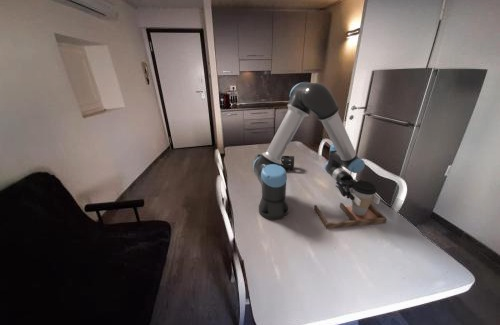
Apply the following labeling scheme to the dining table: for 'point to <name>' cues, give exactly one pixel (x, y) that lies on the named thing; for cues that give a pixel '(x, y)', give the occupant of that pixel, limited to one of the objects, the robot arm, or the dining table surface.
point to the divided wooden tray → (354, 217)
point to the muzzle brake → (283, 161)
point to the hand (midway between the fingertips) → (369, 202)
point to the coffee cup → (363, 196)
